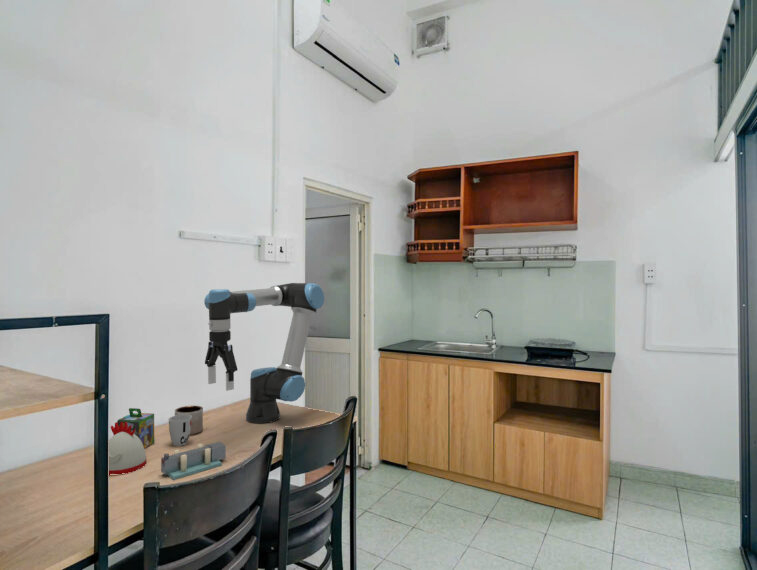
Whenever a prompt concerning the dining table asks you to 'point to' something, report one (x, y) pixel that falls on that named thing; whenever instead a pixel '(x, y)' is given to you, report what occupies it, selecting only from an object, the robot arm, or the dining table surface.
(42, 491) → the dining table surface
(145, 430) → the chalk box
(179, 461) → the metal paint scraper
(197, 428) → the planter
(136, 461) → the kitchen timer
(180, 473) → the peg rack
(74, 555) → the dining table surface
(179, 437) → the cup
